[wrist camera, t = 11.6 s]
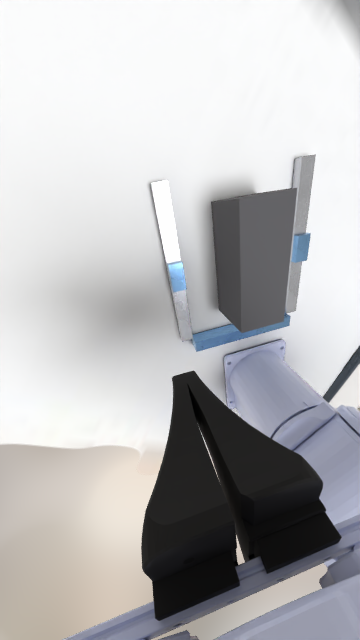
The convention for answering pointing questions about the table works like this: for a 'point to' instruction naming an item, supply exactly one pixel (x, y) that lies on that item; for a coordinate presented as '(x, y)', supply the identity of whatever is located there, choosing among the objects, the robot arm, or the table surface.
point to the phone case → (346, 385)
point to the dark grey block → (253, 256)
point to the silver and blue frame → (176, 271)
